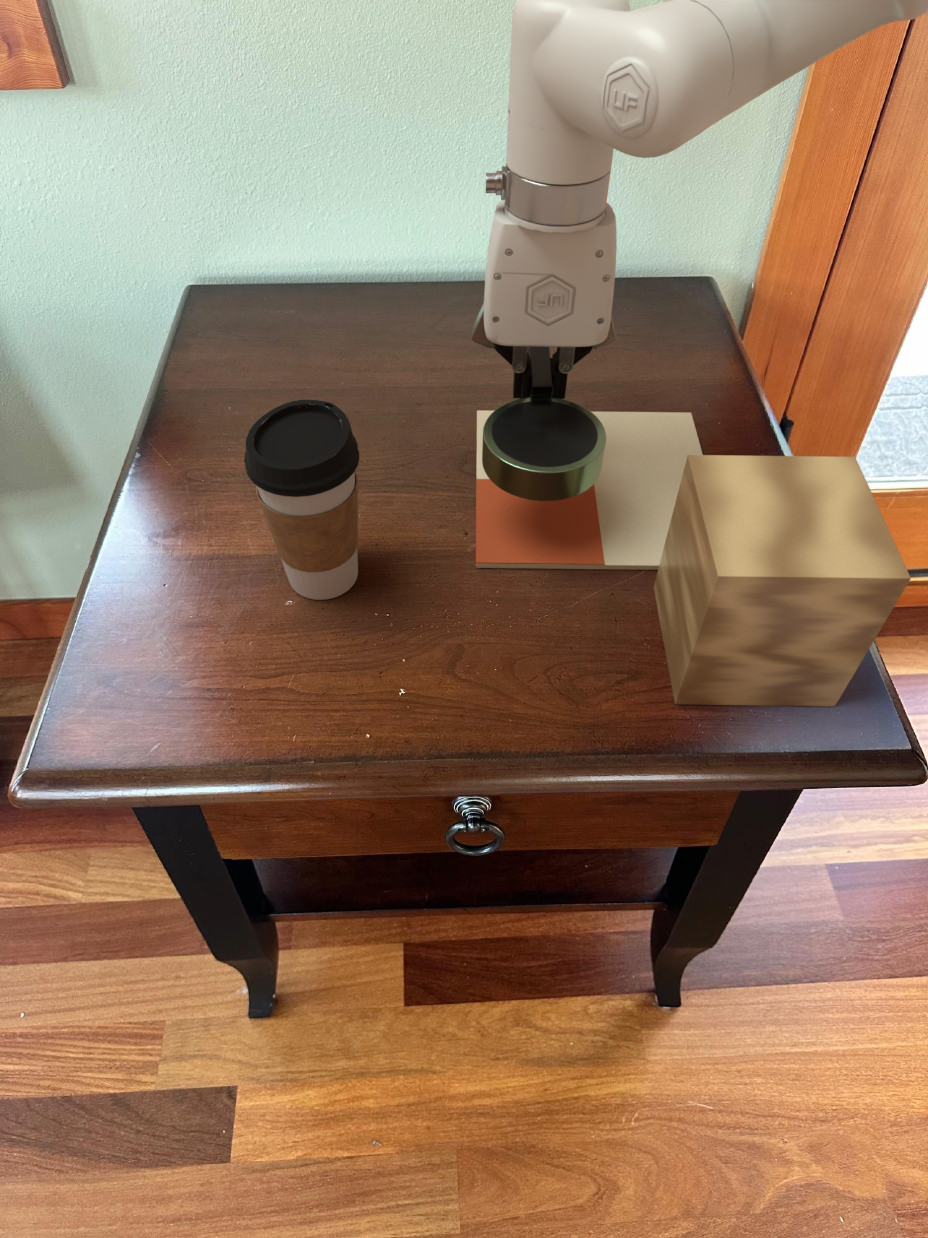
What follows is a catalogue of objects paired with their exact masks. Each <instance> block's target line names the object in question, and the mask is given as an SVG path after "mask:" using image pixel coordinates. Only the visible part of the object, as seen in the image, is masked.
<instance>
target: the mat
mask: <svg viewBox="0 0 928 1238" xmlns="http://www.w3.org/2000/svg"><path fill="white" fill-rule="evenodd" d="M494 411H495V410H480V409H479V410H477V411H476V466H475V467H476V468H475V469H476V472H475V473H476V475H475V476H476V477H475V480H476V481H475V485H476V487H475V493H476V495H475V509H476V510H475V513H476V514H475V568H476V569H532V570H533V569H537V570H539V569H540V570H541V569H542V570H618V571H619V570H623V571H624V570H626V571H627V570H628V571H629V570H630V571H634V570H635V571H641V570H642V571H658V568H659V564H660V560H661V557H662V553H663V549H664V545H665V541H666V537H667V533H668V529H669V525H670V522H671V518H672V514H673V510H674V506H675V502H676V498H677V494H678V491H679V487H680V483H681V479H682V475H683V471H684V467H685V463H686V459H687V456H688V455H704V454H703V451H702V448H701V447H702V446H701V443H700V440H699V435H698V432H697V428H696V424H695V421H694V418H693V414H692V412H685V411H683V412H682V411H681V412H680V411H679V412H675V411H673V412H672V411H671V412H669V411H663V412H662V411H591V412H592V413H593V414H594V415H595V416H596V417H597V418H598V419H599V420H600V421H601V423H602V424H603V427H604V429H605V432H606V444H605V450H604V456H603V462H602V468H601V473H600V475H599V477H598V479H597V481H596V482H595V483H594V484H593V485H592V486H591V487H590V488H589V489H587V490H586V491H584V492H583V493H581V494H579V495H576V496H574V497H571V498H568V499H563V500H557V501H535V500H528V499H524V498H520V497H517V496H514V495H512V494H509V493H507V492H505V491H504V490H502V489H500V488H499V487H498V486H496V485H495V484H494V483H493V482H492V481H491V480H490V479H489V478H488V476H487V475H486V473H485V471H484V468H483V464H482V447H483V427H484V424H485V422H486V420H487V418H488V417H489V416H490V415H491V413H493V412H494Z"/></svg>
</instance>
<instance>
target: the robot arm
mask: <svg viewBox="0 0 928 1238" xmlns="http://www.w3.org/2000/svg"><path fill="white" fill-rule="evenodd" d="M926 14H928V0H663V1H662V2H658V3H655V4H651V5H648V6H644V7H640V8H637V9H632V10H631V6H630V1H629V0H515V2H514V6H513V10H512V19H511V35H510V36H511V37H510V60H509V83H508V84H509V85H508V106H507V107H508V108H507V129H506V130H507V131H506V133H507V134H506V153H505V156H506V157H505V165H502V166H501V170H495V172H486V173H485V194H495V196H500V200H499V202H498V203H497V204H496V206H495V210H494V214H493V218H492V223H491V227H490V233H489V238H488V239H489V241H488V247H487V253H486V263H485V275H484V289H483V294H484V295H483V304H482V306H481V309H480V310H479V312H478V313H477V316H476V319H475V320H474V323H473V324H472V327H471V340H472V342H474V343H475V344H477V345H481V346H483V347H485V348H488V349H492V350H493V349H494V350H495V352H497V353H498V354H499V355H500V356H501V357H502V358H503V359H504V360H505V361H506V362H507V363H508V364H509V365H510V366H511V368H512V371H513V382H512V399H523V398H529V397H530V385H531V375H532V371H531V358H529V353H528V346H534V347H549V348H556V351H555V352H554V353H553V354H552V355H551V357H550V361H551V371H552V380H553V393H552V398H559V399H564V400H566V391H567V383H568V374H570V373H571V372H572V370H573V369H574V366H575V365H576V364H577V363H578V362H580V361H581V360H583V359H584V358H585V357H586V356H588V355H589V354H590V353H591V352H592V351H594V350H595V351H597V350H599V349H603V348H606V347H608V346H611V345H614V344H616V342H617V339H618V337H617V332H616V328H615V327H616V326H615V325H614V321H613V316H612V311H613V302H614V292H615V282H616V269H617V250H618V249H617V248H618V247H617V245H618V243H617V242H618V241H617V239H618V236H617V233H618V232H617V219H616V218H617V217H616V214H615V212H614V209H613V207H612V206H611V205H610V204H609V202H608V195H609V189H610V179H611V173H612V165H613V158H614V151H615V150H616V151H618V152H620V153H623V154H625V155H628V156H631V157H635V158H642V159H649V158H658V157H661V156H665V155H668V154H669V153H672V152H673V151H675V150H677V149H679V148H680V147H682V146H683V145H685V144H686V143H688V142H689V141H691V140H693V139H694V138H696V137H697V136H699V135H701V134H702V133H703V132H704V131H705V130H707V129H709V128H711V126H713V125H715V124H716V123H718V122H719V121H721V120H722V119H725V117H727V116H729V115H731V114H733V113H734V112H736V111H737V110H740V109H741V108H743V107H744V106H746V105H747V104H748V103H751V102H753V100H755V99H756V98H758V97H760V96H761V95H763V94H765V93H766V92H768V91H770V90H771V89H773V88H775V87H776V86H778V85H780V84H781V83H784V82H785V81H786V80H788V79H790V78H792V77H793V76H795V75H796V74H799V73H800V72H802V71H803V70H806V69H807V68H809V67H810V66H812V65H813V64H815V63H817V62H819V61H821V60H822V59H824V58H825V57H827V56H829V55H831V54H832V53H834V52H837V51H838V50H840V49H841V48H843V47H846V46H847V45H848V44H850V43H852V42H854V41H856V40H858V39H859V38H861V37H863V36H866V35H867V34H869V33H871V32H873V31H875V30H877V29H879V28H881V27H883V26H886V25H888V24H892V23H895V22H896V23H897V22H904V21H906V22H907V21H912V20H915V19H917V18H919V17H922V16H923V15H926Z"/></svg>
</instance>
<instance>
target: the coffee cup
mask: <svg viewBox="0 0 928 1238" xmlns="http://www.w3.org/2000/svg"><path fill="white" fill-rule="evenodd" d="M243 462H244V468H245V472H246V475H247V476H248V478H249V480H250V481H251V482H252V483H253V484H254V485H255V493H256V496H257V499H258V502H259V504H260V507H261V509H262V510H261V511H262V512H263V515H264V518H265V520H266V524H267V526H268V528H269V531H270V534H271V537H272V539H273V542H274V545H275V548H276V550H277V552H278V555H279V557H280V559H281V563H282V565H283V568H284V571H285V575H286V577H287V580H288V583H289V585H290V587H291V588H292V590H293V591H294V592H295V593H296V594H297V595H300V596H301V597H304V598H305V599H310V600H314V601H323V600H324V601H325V600H330V599H334V598H338V597H340V596H342V595H344V594H346V593H347V592H348V591H349V590H351V588H352V587H353V586H354V585H355V583H356V581H357V579H358V575H359V559H358V557H359V556H358V544H359V542H358V541H359V539H358V538H359V537H358V536H359V527H358V525H359V519H358V518H359V511H358V510H359V506H358V505H359V501H358V500H359V494H358V492H359V489H358V488H359V486H358V483H359V481H358V474H357V472H356V470H357V468H358V466H359V462H360V450H359V444H358V442H357V440H356V437H355V436H354V434H353V429H352V427H351V423H350V420H349V418H348V416H347V414H346V413H345V412H344V411H343V410H342V409H341V408H340V407H338V406H337V405H336V404H334V403H333V402H329V401H325V400H318V399H297V400H292V401H290V402H286V403H283V404H281V405H279V406H276V407H274V408H272V409H271V410H269V411H268V412H266V413H265V414H263V415H262V416H261V417H259V418H258V419H257V420H256V422H254V424H253V425H252V426H251V427H250V429H249V430H248V432H247V435H246V437H245V452H244V459H243Z"/></svg>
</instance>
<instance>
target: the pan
mask: <svg viewBox="0 0 928 1238" xmlns="http://www.w3.org/2000/svg"><path fill="white" fill-rule="evenodd" d="M527 352H528V353H529V358H531V371H532V375H531V385H530V397H529V398H523V399H520V398H517V399H515V400H511V401H509V402H507V403H504V404H503V405H501V406H498V408H496V409H494V410H493V411H494V412H493V413H491V415H490V416H489V417H488V418H487V420H486V422H485V424H484V427H483V447H482V464H483V468H484V471H485V473H486V475H487V476H488V478H489V479H490V480H491V481H492V482H493V483H494V484H495V485H496V486H498V487H499V488H500V489H502V490H504V491H505V492H507V493H509V494H512V495H514V496H517V497H520V498H524V499H528V500H535V501H557V500H563V499H568V498H571V497H574V496H576V495H579V494H581V493H583V492H584V491H586V490H587V489H589V488H590V487H591V486H592V485H593V484H594V483H595V482H596V481H597V479H598V477H599V475H600V473H601V468H602V462H603V456H604V450H605V444H606V432H605V429H604V427H603V424H602V423H601V421H600V420H599V419H598V418H597V417H596V416H595V415H594V414H593V413H592V412H593V411H591V410H589V409H587V408H586V407H584V406H582V405H581V404H578V403H575V402H573V401H571V400H567V399H559V398H552V393H553V380H552V371H551V361H550V358H551V347H534V346H528V350H527Z"/></svg>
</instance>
